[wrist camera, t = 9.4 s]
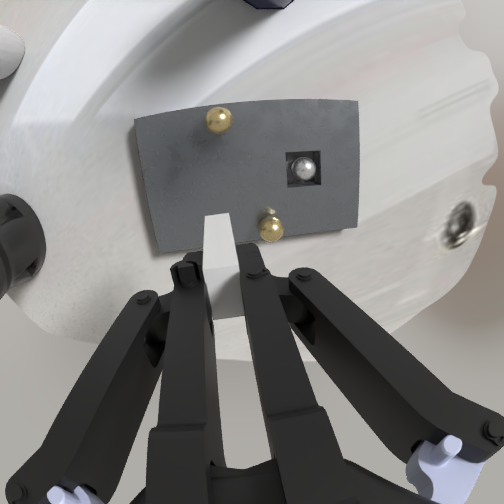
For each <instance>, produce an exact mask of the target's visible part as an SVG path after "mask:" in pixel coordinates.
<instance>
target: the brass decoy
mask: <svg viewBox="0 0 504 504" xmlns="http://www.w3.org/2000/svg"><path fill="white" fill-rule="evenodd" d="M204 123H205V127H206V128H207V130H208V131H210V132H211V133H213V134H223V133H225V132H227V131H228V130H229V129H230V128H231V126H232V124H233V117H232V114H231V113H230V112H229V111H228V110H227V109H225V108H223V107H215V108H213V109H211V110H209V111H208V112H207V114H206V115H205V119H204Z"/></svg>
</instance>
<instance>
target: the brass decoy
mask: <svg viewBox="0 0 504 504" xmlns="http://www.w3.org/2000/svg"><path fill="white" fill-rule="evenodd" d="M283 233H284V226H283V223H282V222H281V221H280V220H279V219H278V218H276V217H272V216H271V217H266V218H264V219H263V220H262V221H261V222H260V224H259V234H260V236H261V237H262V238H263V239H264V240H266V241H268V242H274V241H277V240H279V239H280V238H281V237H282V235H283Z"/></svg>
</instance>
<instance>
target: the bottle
mask: <svg viewBox="0 0 504 504" xmlns="http://www.w3.org/2000/svg"><path fill="white" fill-rule="evenodd" d="M244 1H245V2H247V3H248V4H250V5H251V6H253V7H254V8H256V9H284V8H286V7H287V6H288V5H289V4H290V3H292V2H293V1H294V0H244Z"/></svg>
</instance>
